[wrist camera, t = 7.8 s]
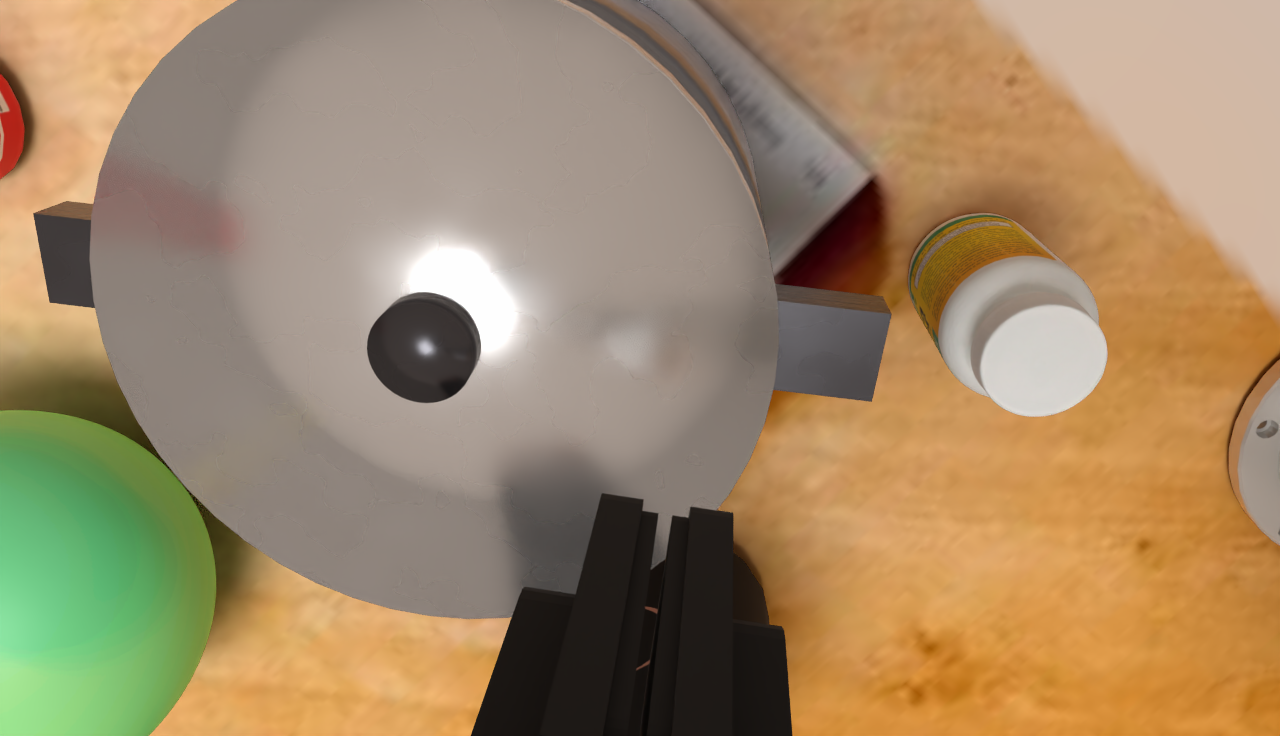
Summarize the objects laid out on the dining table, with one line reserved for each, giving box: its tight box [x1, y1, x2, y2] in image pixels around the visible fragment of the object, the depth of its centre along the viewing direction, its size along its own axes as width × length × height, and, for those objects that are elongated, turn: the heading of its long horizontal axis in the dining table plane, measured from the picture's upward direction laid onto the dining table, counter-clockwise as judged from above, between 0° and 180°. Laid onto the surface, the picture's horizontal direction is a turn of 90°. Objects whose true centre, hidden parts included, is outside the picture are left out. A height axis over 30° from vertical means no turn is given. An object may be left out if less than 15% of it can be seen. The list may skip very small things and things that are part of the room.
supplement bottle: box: [908, 213, 1107, 417], centre depth 34 cm, size 5×5×10 cm
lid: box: [90, 0, 779, 619], centre depth 26 cm, size 20×20×2 cm
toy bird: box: [0, 410, 216, 736], centre depth 40 cm, size 18×17×15 cm
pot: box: [33, 0, 891, 402], centre depth 33 cm, size 27×20×12 cm
